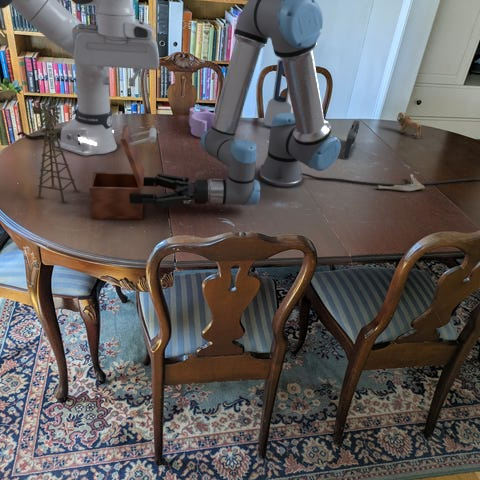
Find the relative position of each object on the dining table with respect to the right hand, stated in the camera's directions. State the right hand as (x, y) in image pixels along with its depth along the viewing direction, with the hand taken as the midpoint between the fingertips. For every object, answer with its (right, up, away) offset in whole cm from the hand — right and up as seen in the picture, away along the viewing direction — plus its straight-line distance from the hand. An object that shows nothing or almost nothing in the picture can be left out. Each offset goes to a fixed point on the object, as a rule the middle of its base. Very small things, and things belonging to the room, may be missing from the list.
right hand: (131, 189), depth 135 cm
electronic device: (+49, +37, +78) cm, 99 cm away
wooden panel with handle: (+1, +9, -5) cm, 10 cm away
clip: (+16, +32, +65) cm, 75 cm away
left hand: (+1, +25, -16) cm, 30 cm away
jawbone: (+89, +6, +37) cm, 96 cm away
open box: (-5, -6, +3) cm, 8 cm away
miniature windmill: (-24, -1, +8) cm, 25 cm away
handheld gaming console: (+78, +23, +62) cm, 102 cm away
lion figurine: (+111, +36, +87) cm, 145 cm away
